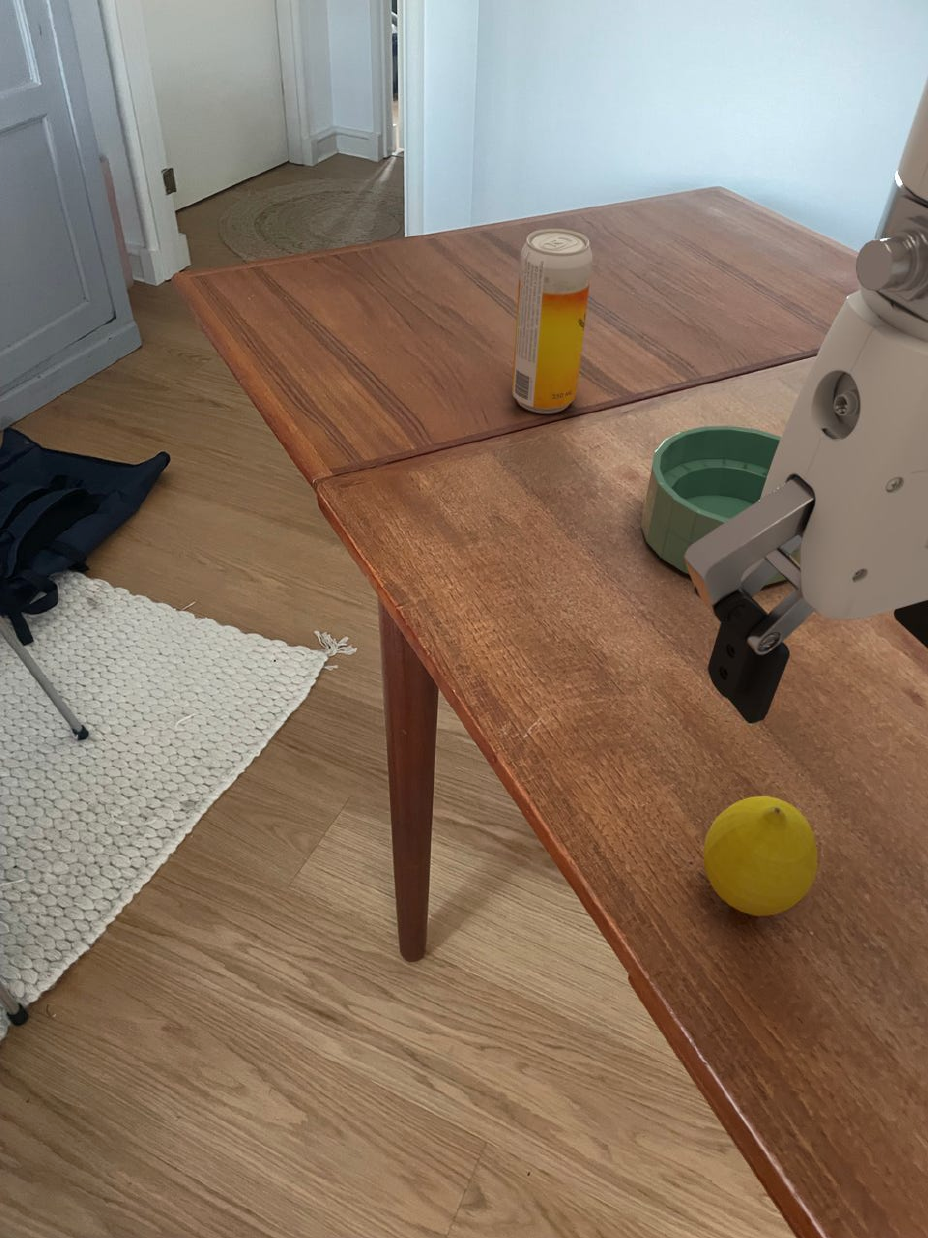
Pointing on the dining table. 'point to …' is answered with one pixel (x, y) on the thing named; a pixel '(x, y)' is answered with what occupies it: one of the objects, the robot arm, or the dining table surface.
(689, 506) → the green pet bowl
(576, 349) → the beer can
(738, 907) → the fruit
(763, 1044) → the dining table surface
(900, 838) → the dining table surface
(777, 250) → the dining table surface
